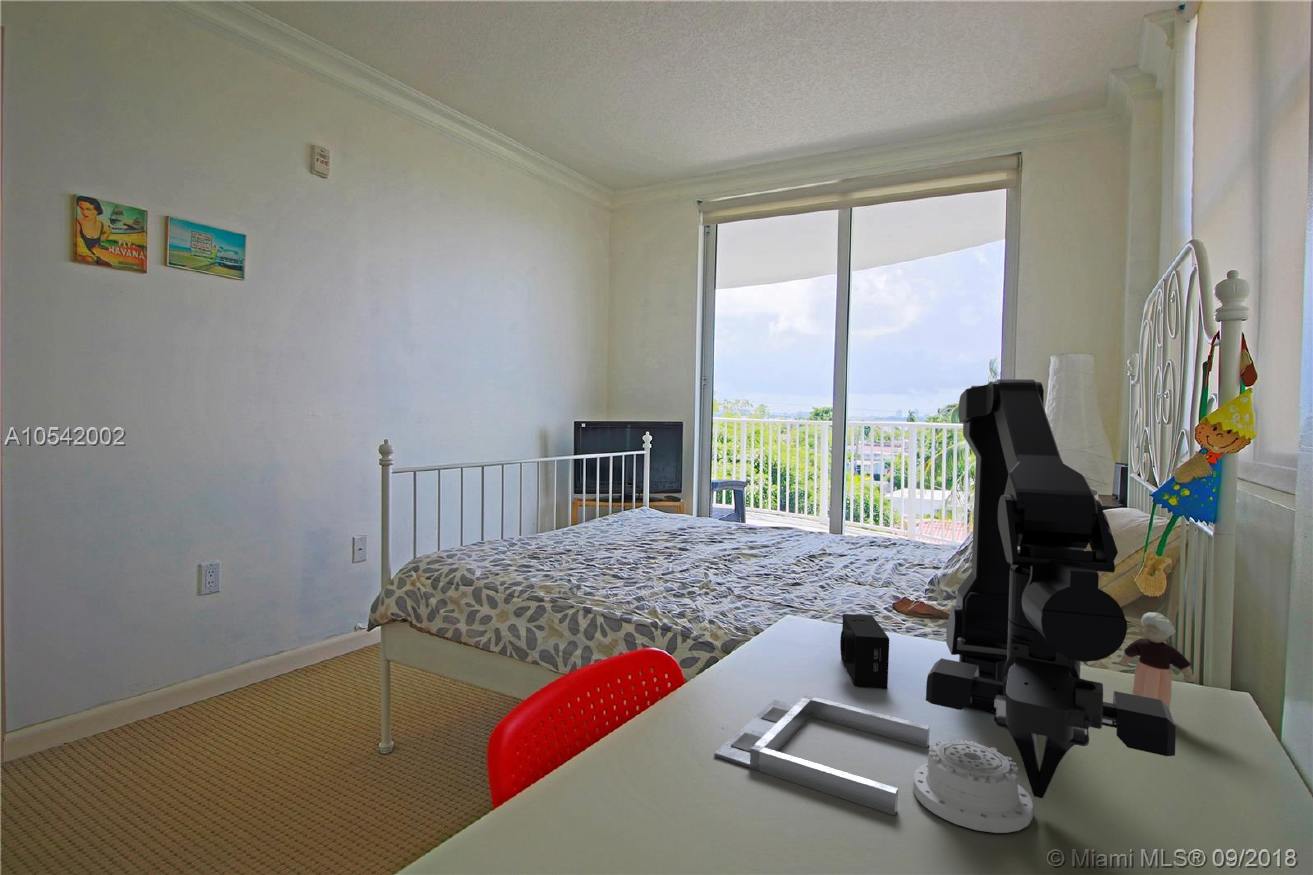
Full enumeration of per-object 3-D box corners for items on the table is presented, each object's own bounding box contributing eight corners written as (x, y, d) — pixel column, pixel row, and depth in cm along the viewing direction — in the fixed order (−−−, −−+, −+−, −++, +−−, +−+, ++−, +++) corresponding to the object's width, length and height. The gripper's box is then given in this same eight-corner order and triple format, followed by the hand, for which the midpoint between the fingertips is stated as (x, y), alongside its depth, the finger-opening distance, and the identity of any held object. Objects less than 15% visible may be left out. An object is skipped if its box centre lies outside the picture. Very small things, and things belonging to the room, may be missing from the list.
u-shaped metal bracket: (774, 703, 83) (774, 687, 83) (928, 744, 73) (929, 726, 73) (714, 756, 69) (714, 737, 69) (894, 815, 60) (895, 793, 59)
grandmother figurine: (1112, 710, 83) (1117, 609, 83) (1118, 701, 86) (1122, 603, 86) (1191, 731, 78) (1196, 623, 77) (1194, 721, 81) (1200, 617, 80)
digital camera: (832, 659, 99) (834, 612, 99) (870, 661, 98) (872, 614, 98) (845, 687, 89) (847, 634, 88) (887, 690, 88) (889, 637, 88)
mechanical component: (923, 826, 58) (1049, 845, 56) (925, 776, 58) (1051, 793, 56) (905, 768, 68) (1012, 782, 66) (907, 725, 68) (1014, 738, 66)
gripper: (917, 627, 58) (911, 805, 59) (1189, 673, 48) (1181, 886, 49) (938, 600, 68) (933, 753, 68) (1170, 634, 58) (1163, 813, 58)
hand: (1038, 795), depth 60 cm, fingers closed
